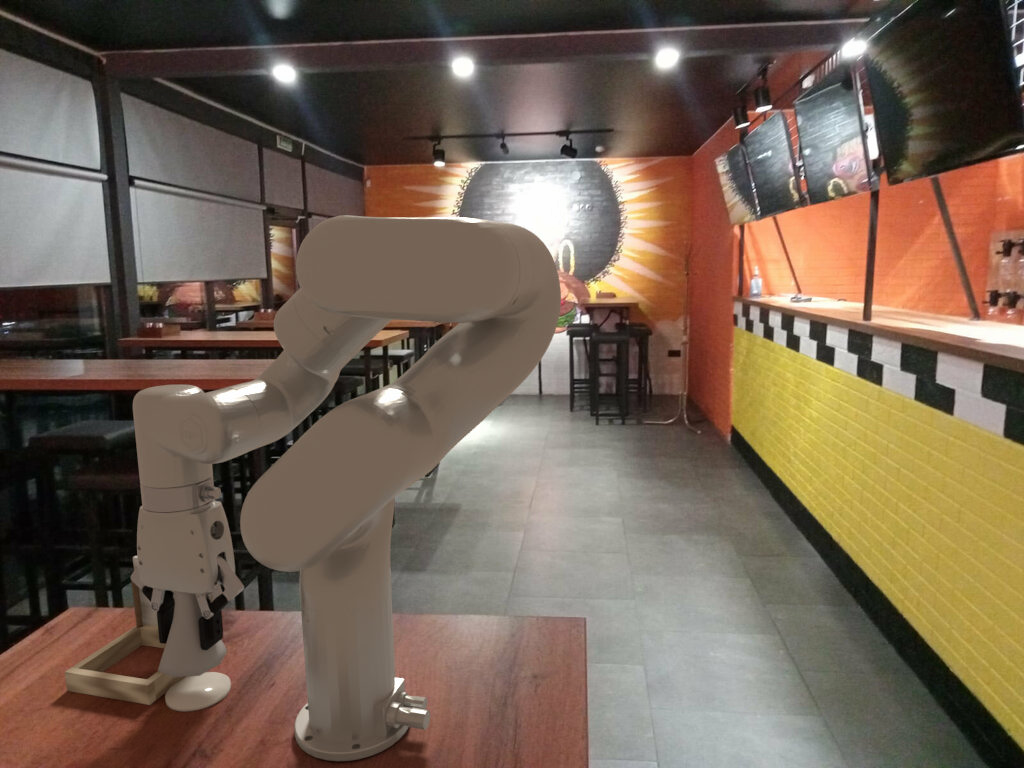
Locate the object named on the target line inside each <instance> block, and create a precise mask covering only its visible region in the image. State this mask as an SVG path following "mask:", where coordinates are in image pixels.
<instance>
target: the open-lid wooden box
mask: <svg viewBox="0 0 1024 768" xmlns="http://www.w3.org/2000/svg"><path fill="white" fill-rule="evenodd" d="M132 563H133V571H134V570H135V569H136V567H137V566H138V558H137V555H134V556H132ZM130 582H131V591H132V599H133V607H134V616H135V624H136V625H134V626H133V627H131V628H130V629H129V630H127V631H125V632H124V633H122V634H121V635H119V636H118V637H116V638H114V639H113V640H112V641H110V642H108V643H107V644H105V645H104V646H102V647H100V648H99V649H97V650H96V651H95V652H93V653H92V654H90V655H89V656H87V657H85V658H84V659H82V660H81V661H79V662H77V663H75V664H74V665H73V666H72V667H70V668H68V669H67V670H65V671H64V678H65V679H64V680H65V685H66V691H67V692H72V693H77V694H84V695H90V696H94V697H100V698H108V699H112V700H113V699H114V700H120V701H125V702H131V703H136V704H142V705H147V706H151V705H152V704H153V703H154V702H156V701H157V700H158V699H159V698H161V697H162V696H163V695H165V694H166V692H167V691H168V689H169V688H170V687H171V686H172V685H174V684H175V683H177V682H178V681H180V680H182V679H184V678H185V677H174V678H173V677H171V676H169V675H167V674H164V673H162V672H160V671H158V670H157V671H155V673H153V674H152V675H151V676H149V677H148V678H139V677H134V676H127V675H122V674H115V673H111V672H110V673H108V672H106V670H109V668H111V667H112V666H113V665H115V664H117V663H118V662H120V661H121V660H122V659H124V658H126V657H127V656H128V655H129V654H131V653H132V652H134V651H135V650H137V649H138V648H140V647H142V646H147V647H154V648H160V649H165V646H166V643H165V644H163V643H160V642H159V632H158V622H157V611H153V610H152V609H151V602H150V601H149V599H148V598H147V597H146V596H145V595H144V594H143V592H142V589H140V588H139V587H138V586H137V585H136V584H135V583H134V582H133V581H132V580H131V581H130ZM208 596H209V599H210V602H211V603H212V602H213V599H212V596H211V593H210V594H209V595H208Z"/></svg>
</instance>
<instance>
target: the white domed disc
mask: <svg viewBox="0 0 1024 768" xmlns="http://www.w3.org/2000/svg"><path fill="white" fill-rule="evenodd" d="M231 688H232V681H231V679H230V677H229V676H228V675H226V674H224V673H222V672H216V671H207V672H205V673H204V674H202V675H200V676H189V677H184V678H183V679H182V680H180V681H178V682H177V683H175V684H174V685H172V686H171V687H170V688H169V689H168V691H167V692H165V694H164V695H165V696H164V698H165V699H164V700H165V705H166V706H167V707H168V708H169V709H170V710H173V711H176V712H184V713H185V712H194V711H195V712H196V711H199V710H203V709H205V708H209V707H211V706H214V705H216V704H217V703H219V702H220V701H222V700H223V699H225V697H226V696H228V694H229V693H230V691H231Z"/></svg>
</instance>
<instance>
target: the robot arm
mask: <svg viewBox="0 0 1024 768" xmlns="http://www.w3.org/2000/svg"><path fill="white" fill-rule="evenodd" d="M295 274H296V278H297V281H298V285H299V289H298V290H297V291H295V293H294V294H292V295H291V296H290V298H288V300H287V301H286V302H285V303H283V305H282V306H281V307H280V308H279V309H278V310H277V312H276V314H275V315H274V319H273V330H274V331H273V332H274V335H275V337H276V339H277V341H278V343H279V344H280V346H281V348H282V349H283V351H282V352H281V353H280V354H279V355H278V356H277V357H276V359H274V361H273V362H272V363H271V364H270V365H269V366H268V367H267V368H266V369H265V370H263V372H261V374H259V375H258V376H257V377H255V378H254V379H253V380H251V381H246V382H242V383H238V384H234V385H230V386H225V387H223V388H219V389H215V390H212V391H208V392H205V391H204V390H203V389H202V388H200V387H198V386H196V385H194V384H192V385H191V384H165V385H156V386H155V385H154V386H152V387H151V386H150V387H147V388H143V389H141V390H140V391H137V393H136V394H135V395H134V397H133V400H132V415H133V426H134V434H135V443H136V453H137V463H138V464H137V466H138V475H139V483H140V484H139V486H140V495H141V496H140V497H141V504H142V505H140V507H139V509H138V510H139V511H138V517H137V518H138V519H137V527H136V529H137V531H136V551H137V552H136V553H137V555H136V556H137V558H138V566H137V567H136V569H135V570H134V569H133V572H132V574H131V575H130V581H131V582H132V581H133V582H134V583H135V584H136V585H137V586H138V587H139V588H140V589H142V592H143V594H144V595H145V596H146V597H147V598H148V599H149V601H150V602H151V609H152V610H153V611H157V622H158V632H159V642H160V643H163V644H165V643H167V639H168V636H169V632H170V629H171V625H172V621H173V617H174V608H175V596H174V593H173V592H172V591H176V592H183V593H191V594H196V597H197V600H198V603H199V606H200V609H201V612H202V615H203V616H202V617H201V618H200V619H199V621H198V623H199V634H200V645H201V648H202V650H208V649H210V648H211V647H212V646H213V645H215V644H216V643H217V642H218V641H220V640H222V639H223V637H224V626H223V615H222V610H224V608H226V607H227V605H228V604H229V603H230V602H231V601H232V600H233V599H234V598H236V597H237V596H238V595H239V594H240V593H242V592H243V591H244V590H245V586H244V584H243V583H242V580H241V579H240V578H239V577H238V576H237V574H236V564H235V555H234V548H233V542H232V541H233V540H232V536H231V531H230V527H229V522H228V518H227V515H226V512H225V509H224V507H223V503H222V501H220V500H219V501H217V500H218V499H220V497H221V495H222V491H221V487H216V486H215V485H214V473H213V465H214V464H220V463H224V462H227V461H229V460H232V459H235V458H238V457H240V456H243V455H244V454H247V453H249V452H251V451H253V450H257V449H260V448H261V447H264V446H267V445H270V444H272V443H275V442H277V441H279V440H280V439H283V438H284V437H285V436H287V435H289V434H290V433H291V432H292V431H294V429H296V427H298V426H299V425H300V424H301V423H302V422H303V421H304V420H306V418H307V417H309V415H310V414H311V413H313V412H314V411H315V410H316V409H317V408H318V407H319V406H320V405H321V404H322V403H323V401H325V399H326V398H327V397H328V396H329V394H330V393H331V392H332V390H333V388H334V387H335V384H336V383H337V381H338V379H339V376H340V373H341V371H342V369H343V368H345V366H346V365H347V364H348V363H349V362H350V361H352V359H353V358H355V356H356V355H357V354H358V353H360V352H361V350H362V349H363V348H364V347H366V345H368V344H369V343H370V342H371V341H372V340H373V339H374V338H375V337H376V336H377V335H378V334H379V333H380V332H381V331H382V330H383V329H384V328H385V327H386V326H388V324H390V323H391V322H392V321H394V320H395V321H396V320H398V321H413V322H414V321H416V322H417V321H418V322H430V323H448V324H449V323H450V324H451V323H452V324H457V325H455V326H454V327H453V328H452V329H450V330H449V331H447V332H446V334H444V335H443V336H442V337H441V338H439V339H438V340H437V341H436V342H435V343H434V344H433V345H431V347H430V348H429V349H428V350H427V351H426V352H425V353H424V355H422V356H421V357H420V359H418V360H417V361H416V362H415V363H414V364H412V366H410V367H409V368H408V369H407V370H406V371H405V372H404V373H403V374H402V375H401V376H399V377H398V378H397V379H395V380H393V382H391V383H389V384H388V385H387V384H386V385H385V386H383V387H380V388H378V389H375V390H373V391H369V392H368V393H365V394H363V395H359V396H357V397H355V398H352V399H350V400H348V401H347V400H346V401H344V402H343V403H341V404H339V405H337V406H336V407H334V408H333V409H331V410H329V412H326V414H324V415H323V416H322V417H320V418H319V419H318V420H317V421H315V422H314V423H313V424H312V426H311V427H310V428H308V429H307V430H306V431H305V432H304V433H303V435H301V436H300V437H299V438H298V439H297V440H296V441H295V442H294V443H293V444H292V445H291V446H290V447H289V448H288V449H287V450H286V451H285V452H284V453H283V454H282V455H281V456H280V457H279V458H278V459H277V460H276V461H275V462H273V464H272V465H271V466H270V467H269V468H268V469H267V470H266V471H265V472H264V473H263V474H262V475H261V476H260V477H259V478H258V479H257V480H256V481H255V483H254V484H253V485H252V486H251V488H250V489H249V491H248V493H247V495H246V496H245V498H244V502H243V503H242V508H241V511H240V518H239V519H240V520H239V525H240V527H239V528H240V534H241V538H242V541H243V543H244V546H245V548H246V550H247V551H248V552H249V554H250V555H251V556H252V558H253V559H254V560H256V561H257V562H258V563H260V564H261V565H263V566H265V567H266V568H269V569H271V570H274V571H279V572H286V573H287V572H288V573H292V572H294V573H295V572H299V580H298V582H299V595H300V596H299V597H300V611H301V612H300V613H301V625H302V627H301V629H302V640H303V652H304V653H303V654H304V656H303V657H304V669H305V681H306V695H307V696H306V697H307V703H306V704H304V705H303V707H302V708H301V709H300V710H299V712H298V713H297V716H296V718H295V721H294V725H293V726H294V737H295V741H296V743H297V745H298V746H299V748H300V749H301V750H302V751H303V752H305V753H306V754H308V755H309V756H312V757H314V758H316V759H320V760H324V761H330V762H350V761H351V762H352V761H357V760H361V759H365V758H368V757H372V756H374V755H377V754H379V753H381V752H383V751H385V750H387V749H389V748H390V747H392V746H393V745H394V744H395V743H397V742H398V741H400V739H402V737H403V736H404V735H405V734H406V733H407V731H408V729H409V728H410V729H412V728H414V729H418V730H427V729H428V727H429V724H430V721H431V720H430V719H431V711H430V710H429V709H427V707H428V698H427V697H425V696H418V695H414V696H413V695H409V694H408V692H405V690H406V689H405V688H406V687H405V679H404V678H403V677H401V678H400V677H396V662H395V660H396V659H395V639H394V622H393V619H394V618H393V602H392V601H393V600H392V599H393V598H392V577H391V576H392V574H391V572H392V569H391V544H392V543H391V540H392V529H393V521H394V513H395V501H396V499H395V498H396V497H397V496H398V495H399V494H401V493H402V492H403V491H405V490H407V489H408V488H409V487H411V486H412V485H414V484H415V483H416V482H418V481H419V480H421V479H422V478H424V477H425V476H427V475H428V474H429V473H430V472H431V471H433V470H434V469H435V468H436V467H437V465H439V463H440V462H441V461H442V460H443V459H444V458H445V457H446V455H448V454H449V452H450V451H452V449H453V448H455V447H456V446H457V444H459V442H461V441H462V440H463V439H464V438H465V437H466V436H468V435H469V434H470V433H471V432H472V431H473V430H474V429H475V428H476V427H477V426H479V425H480V424H481V423H482V422H483V421H484V420H485V419H486V418H487V417H488V416H489V415H490V414H491V413H492V412H493V411H494V410H495V409H496V408H498V406H500V405H501V404H502V403H503V402H504V401H505V400H506V399H507V398H508V397H509V396H511V395H512V394H513V392H515V391H516V390H517V389H518V388H519V387H520V386H521V385H522V383H524V381H525V380H526V379H527V378H528V377H529V376H530V375H531V374H532V373H533V371H535V369H536V368H537V366H538V365H539V364H540V362H541V360H542V359H543V357H544V356H545V354H546V352H547V350H548V349H549V346H550V344H551V342H552V340H553V338H554V335H555V333H556V331H557V327H558V325H559V324H558V323H559V319H560V314H561V306H562V291H561V282H560V281H561V280H560V277H559V276H560V275H559V272H558V268H557V265H556V262H555V260H554V258H553V255H552V253H551V251H550V250H549V248H548V247H547V245H546V244H545V243H544V241H543V240H542V239H540V238H539V236H538V235H536V234H535V233H534V232H532V231H530V230H529V229H528V228H525V227H524V226H520V225H517V224H513V223H510V222H504V221H497V220H488V219H481V218H473V217H472V218H471V217H450V216H449V217H447V216H446V217H438V216H437V217H413V216H412V217H411V216H409V217H408V216H407V217H402V216H401V217H396V216H395V217H386V216H385V217H383V216H382V217H381V216H358V215H349V214H348V215H346V214H345V215H337V216H334V217H330V218H329V217H328V218H327V219H326V220H325V219H324V220H323V221H321V222H319V223H318V224H317V225H316V226H314V227H313V228H312V229H311V230H310V231H309V232H308V233H307V234H306V235H305V237H304V239H303V240H302V242H301V244H300V246H299V249H298V251H297V255H296V260H295ZM221 584H222V585H221ZM221 586H223V587H224V591H223V589H222V587H221ZM210 593H211V596H212V599H213V602H212V603H211V602H210V599H209V596H208V595H209V594H210Z"/></svg>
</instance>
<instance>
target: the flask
mask: <svg viewBox="0 0 1024 768" xmlns="http://www.w3.org/2000/svg"><path fill="white" fill-rule="evenodd" d="M172 592H173V593H174V596H175V608H174V617H173V621H172V625H171V629H170V632H169V636H168V639H167V643H166V646H165V648H163V653H162V656H161V659H160V662H159V665H158V669H157V671H160V672H162V673H164V674H167V675H169V676H171V677H173V678H174V677H184V678H186V677H189V676H200V675H202V674H204V673H205V672H210V671H211V670H212V669H214V668H216V667H217V666H219V665H221V664H222V663H223V660H224V658H225V656H226V654H227V652H228V650H227V648H226V646H225V643H224V642H223V640H222V639H221V640H220V641H218V642H217V643H216V644H215V645H213V646H212V647H211V648H210V649H208V650H202V648H201V645H200V634H199V623H198V621H199V619H200V618H201V617H202V616H203V615H202V612H201V609H200V606H199V603H198V600H197V597H196V594H191V593H183V592H176V591H172Z"/></svg>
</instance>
